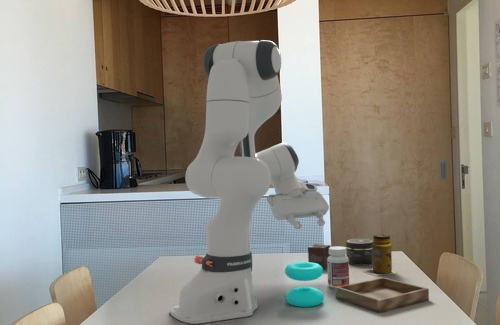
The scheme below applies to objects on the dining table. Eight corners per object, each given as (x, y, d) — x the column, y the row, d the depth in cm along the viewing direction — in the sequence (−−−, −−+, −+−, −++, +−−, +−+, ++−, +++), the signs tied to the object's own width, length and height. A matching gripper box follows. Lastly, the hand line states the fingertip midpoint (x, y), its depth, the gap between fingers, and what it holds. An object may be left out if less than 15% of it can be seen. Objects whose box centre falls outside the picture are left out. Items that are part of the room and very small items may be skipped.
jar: (363, 258, 193) (363, 237, 193) (381, 263, 184) (380, 241, 183) (340, 261, 189) (340, 240, 189) (357, 266, 180) (356, 244, 179)
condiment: (397, 273, 169) (396, 235, 168) (376, 276, 165) (375, 238, 165) (383, 268, 175) (382, 232, 175) (362, 271, 172) (361, 235, 172)
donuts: (301, 271, 132) (277, 264, 140) (302, 310, 132) (278, 301, 140) (330, 265, 137) (306, 259, 146) (331, 303, 138) (307, 295, 146)
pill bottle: (353, 286, 154) (352, 248, 153) (338, 290, 150) (337, 250, 150) (339, 282, 159) (338, 245, 158) (323, 285, 155) (322, 247, 155)
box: (331, 266, 181) (331, 245, 181) (324, 269, 176) (323, 248, 176) (315, 264, 184) (315, 243, 184) (308, 268, 179) (307, 246, 179)
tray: (379, 312, 128) (379, 300, 128) (335, 298, 142) (335, 287, 142) (428, 300, 138) (428, 288, 138) (383, 287, 152) (383, 277, 151)
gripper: (268, 188, 165) (287, 222, 157) (319, 184, 176) (339, 216, 168) (261, 201, 169) (279, 236, 161) (311, 197, 180) (331, 229, 172)
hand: (310, 226), depth 164 cm, fingers open, 8 cm apart
